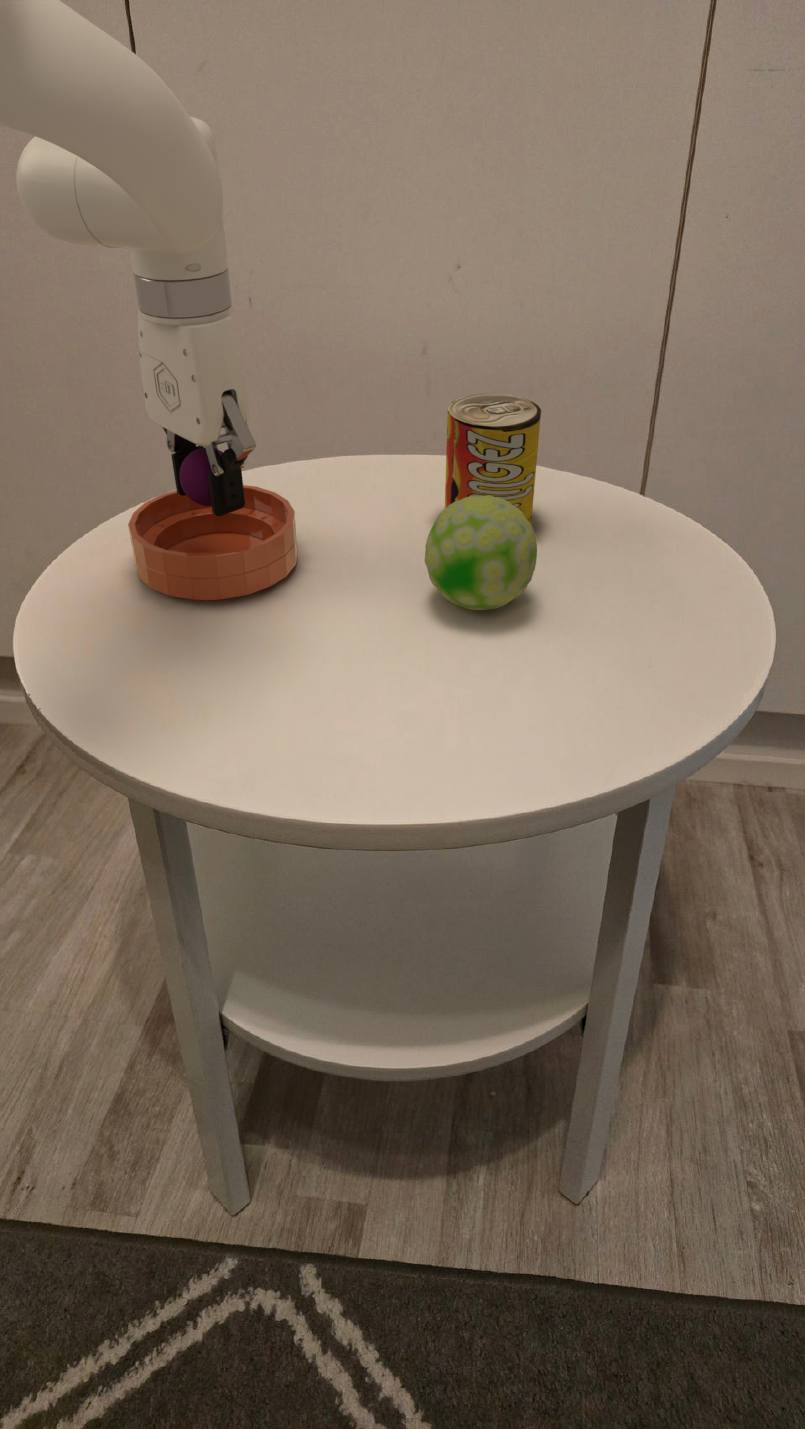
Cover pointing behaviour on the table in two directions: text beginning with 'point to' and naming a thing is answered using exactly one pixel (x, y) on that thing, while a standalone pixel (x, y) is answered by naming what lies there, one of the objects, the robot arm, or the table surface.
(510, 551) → the decorative ball
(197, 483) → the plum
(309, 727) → the table surface
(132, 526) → the bowl
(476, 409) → the beverage can
